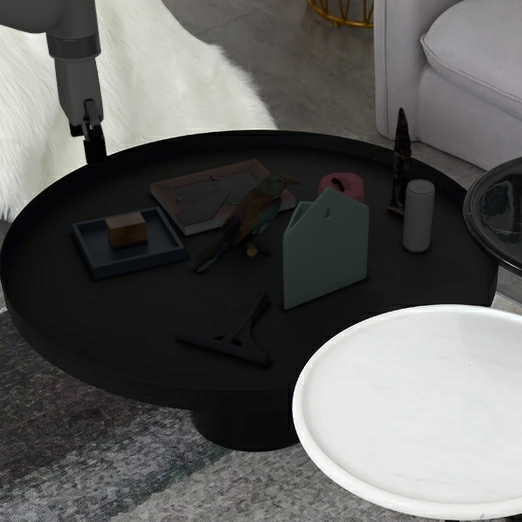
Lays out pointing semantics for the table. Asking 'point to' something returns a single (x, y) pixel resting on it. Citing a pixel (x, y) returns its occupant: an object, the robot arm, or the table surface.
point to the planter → (324, 247)
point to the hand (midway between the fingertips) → (89, 148)
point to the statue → (401, 166)
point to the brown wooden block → (126, 231)
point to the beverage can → (418, 215)
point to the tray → (112, 263)
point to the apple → (344, 185)
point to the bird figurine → (247, 221)
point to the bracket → (233, 334)
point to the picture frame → (211, 195)
